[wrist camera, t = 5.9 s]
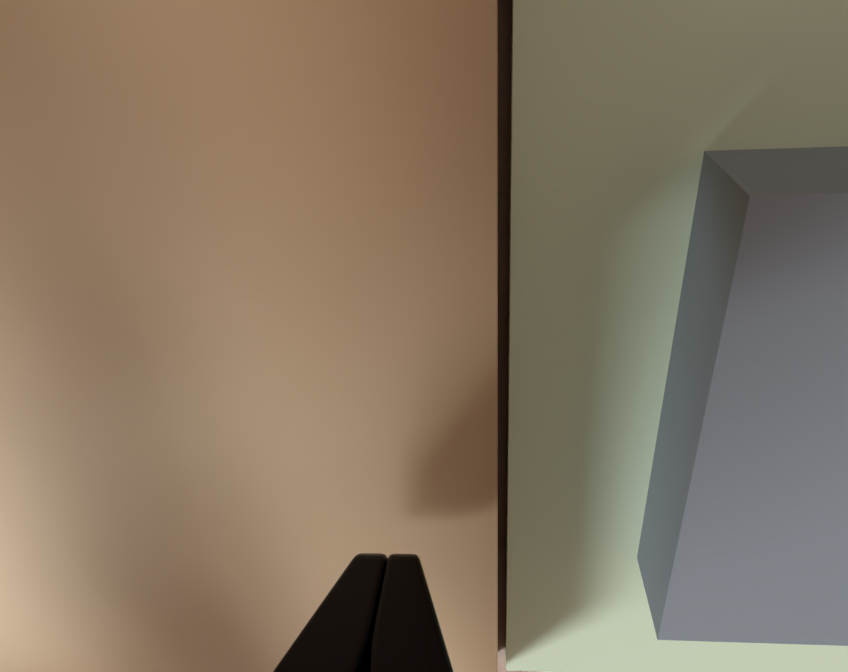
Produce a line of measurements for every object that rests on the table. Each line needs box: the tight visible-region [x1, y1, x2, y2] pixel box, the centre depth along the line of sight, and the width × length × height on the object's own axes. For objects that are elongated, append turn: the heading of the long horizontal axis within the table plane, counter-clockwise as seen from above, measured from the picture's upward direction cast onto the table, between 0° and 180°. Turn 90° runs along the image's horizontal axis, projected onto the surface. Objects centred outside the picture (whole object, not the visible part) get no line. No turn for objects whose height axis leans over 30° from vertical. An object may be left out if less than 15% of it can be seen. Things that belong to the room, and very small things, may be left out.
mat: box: [506, 0, 848, 672], centre depth 12 cm, size 12×17×1 cm
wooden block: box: [0, 0, 498, 672], centre depth 12 cm, size 11×18×4 cm, turn 3°
